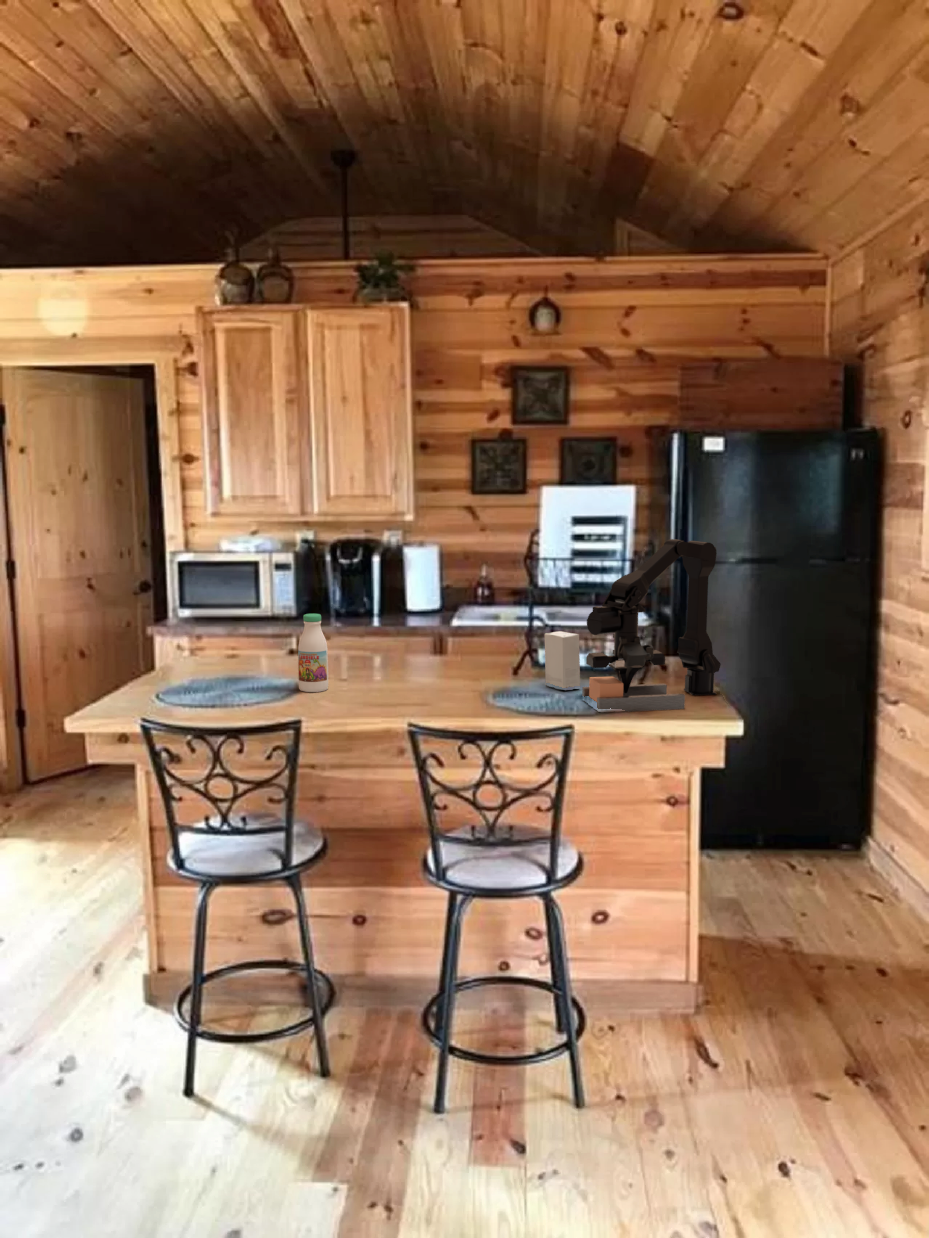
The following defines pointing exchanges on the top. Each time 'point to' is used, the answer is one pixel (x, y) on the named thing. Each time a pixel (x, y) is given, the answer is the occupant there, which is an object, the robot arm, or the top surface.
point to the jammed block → (604, 687)
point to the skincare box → (562, 659)
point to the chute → (641, 699)
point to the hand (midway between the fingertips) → (625, 692)
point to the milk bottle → (313, 656)
